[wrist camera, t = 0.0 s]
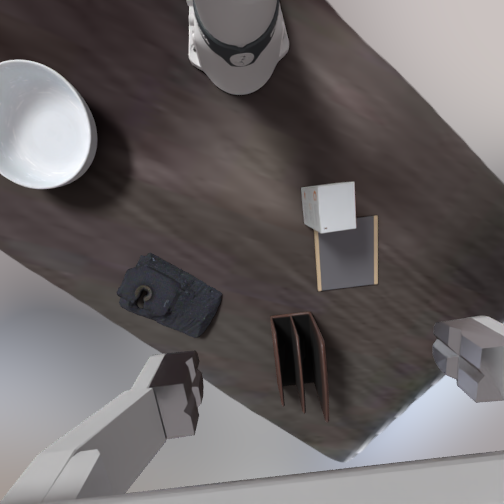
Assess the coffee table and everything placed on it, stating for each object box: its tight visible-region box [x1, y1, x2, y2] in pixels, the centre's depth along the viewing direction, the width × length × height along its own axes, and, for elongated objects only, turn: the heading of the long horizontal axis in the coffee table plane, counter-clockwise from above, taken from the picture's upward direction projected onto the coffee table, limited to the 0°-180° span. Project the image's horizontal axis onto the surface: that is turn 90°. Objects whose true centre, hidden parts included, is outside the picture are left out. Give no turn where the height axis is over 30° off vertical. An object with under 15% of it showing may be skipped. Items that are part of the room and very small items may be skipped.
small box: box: [301, 182, 356, 234], centre depth 49 cm, size 8×6×13 cm
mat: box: [314, 215, 378, 291], centre depth 58 cm, size 16×14×1 cm
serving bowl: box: [0, 60, 97, 189], centre depth 47 cm, size 21×21×7 cm
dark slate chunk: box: [117, 253, 222, 338], centre depth 58 cm, size 15×22×5 cm
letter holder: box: [270, 312, 329, 422], centre depth 57 cm, size 10×20×14 cm, turn 7°
